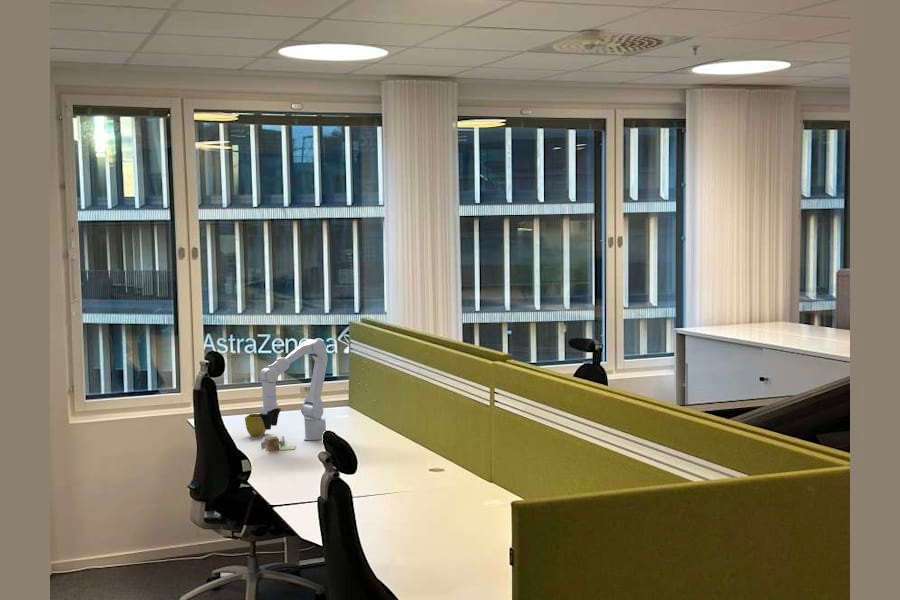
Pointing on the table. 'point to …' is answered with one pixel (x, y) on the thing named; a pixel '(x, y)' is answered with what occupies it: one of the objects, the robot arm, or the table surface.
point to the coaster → (287, 448)
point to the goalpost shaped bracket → (279, 442)
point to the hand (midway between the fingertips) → (271, 427)
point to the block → (272, 443)
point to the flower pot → (255, 425)
